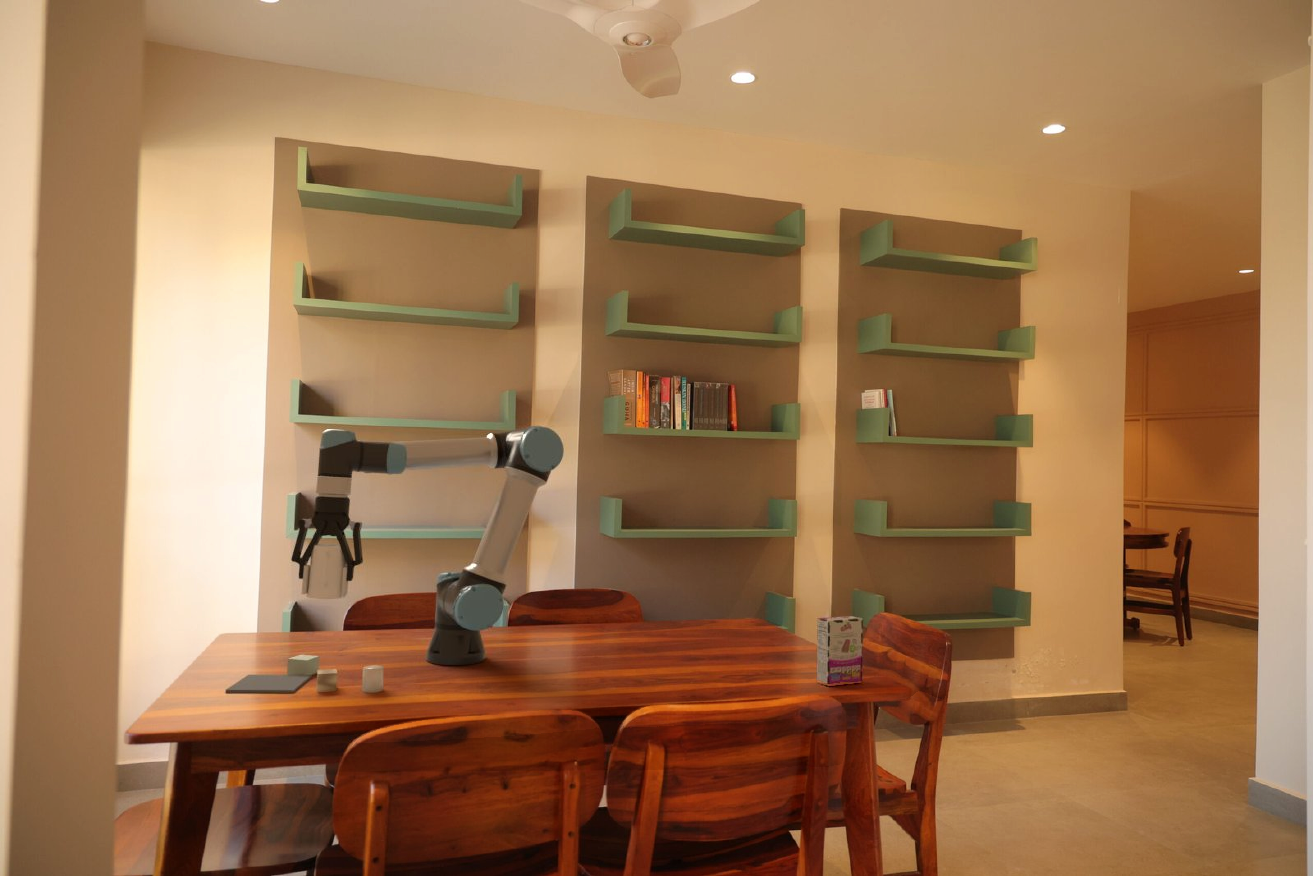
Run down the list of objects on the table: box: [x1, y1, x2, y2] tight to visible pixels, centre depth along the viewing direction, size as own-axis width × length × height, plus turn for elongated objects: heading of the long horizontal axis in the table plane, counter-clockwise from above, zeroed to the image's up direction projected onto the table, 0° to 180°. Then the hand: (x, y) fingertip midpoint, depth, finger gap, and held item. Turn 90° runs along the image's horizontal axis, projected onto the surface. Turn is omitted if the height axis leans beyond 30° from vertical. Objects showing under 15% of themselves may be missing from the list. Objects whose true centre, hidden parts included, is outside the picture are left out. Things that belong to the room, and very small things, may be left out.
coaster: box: [225, 674, 312, 694], centre depth 187 cm, size 14×14×1 cm
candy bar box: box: [816, 615, 864, 684], centre depth 210 cm, size 11×5×16 cm, turn 117°
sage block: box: [286, 654, 320, 676], centre depth 199 cm, size 5×5×4 cm
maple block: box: [316, 668, 338, 693], centre depth 186 cm, size 4×4×4 cm
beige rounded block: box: [361, 664, 385, 694], centre depth 186 cm, size 4×4×5 cm
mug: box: [305, 543, 347, 600], centre depth 193 cm, size 12×8×12 cm
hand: (324, 594), depth 192 cm, fingers closed on mug, 8 cm apart
